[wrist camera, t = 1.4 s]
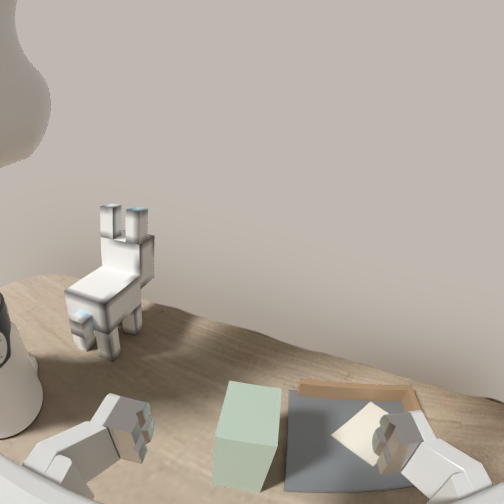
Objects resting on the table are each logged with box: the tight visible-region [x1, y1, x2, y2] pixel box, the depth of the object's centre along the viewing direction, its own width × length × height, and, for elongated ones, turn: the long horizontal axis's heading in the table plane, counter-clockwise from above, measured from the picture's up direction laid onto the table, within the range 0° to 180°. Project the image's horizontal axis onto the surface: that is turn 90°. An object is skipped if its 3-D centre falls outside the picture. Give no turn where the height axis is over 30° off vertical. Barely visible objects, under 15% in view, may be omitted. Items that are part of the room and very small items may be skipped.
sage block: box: [211, 380, 281, 493], centre depth 25 cm, size 5×7×10 cm
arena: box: [284, 379, 422, 493], centre depth 30 cm, size 18×16×3 cm
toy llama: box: [64, 204, 154, 362], centre depth 42 cm, size 8×18×20 cm, turn 170°
